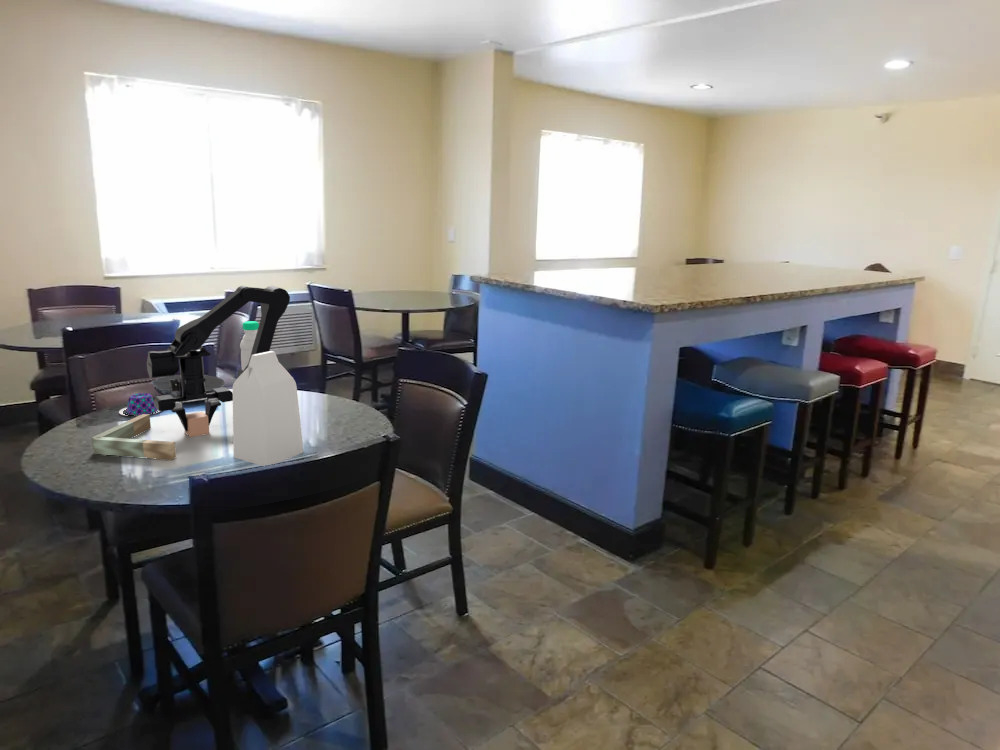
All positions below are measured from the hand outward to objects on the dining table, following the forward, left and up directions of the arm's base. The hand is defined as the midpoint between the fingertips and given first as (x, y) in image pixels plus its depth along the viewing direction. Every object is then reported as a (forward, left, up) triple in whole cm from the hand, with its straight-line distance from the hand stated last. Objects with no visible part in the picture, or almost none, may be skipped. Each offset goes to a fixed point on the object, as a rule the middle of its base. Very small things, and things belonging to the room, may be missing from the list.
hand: (196, 429), depth 183 cm
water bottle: (0, -34, -1) cm, 34 cm away
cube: (0, 0, -1) cm, 1 cm away
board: (+22, -34, -1) cm, 41 cm away
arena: (+5, +9, -1) cm, 11 cm away
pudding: (+26, -15, -2) cm, 30 cm away
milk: (-26, +12, -1) cm, 29 cm away
